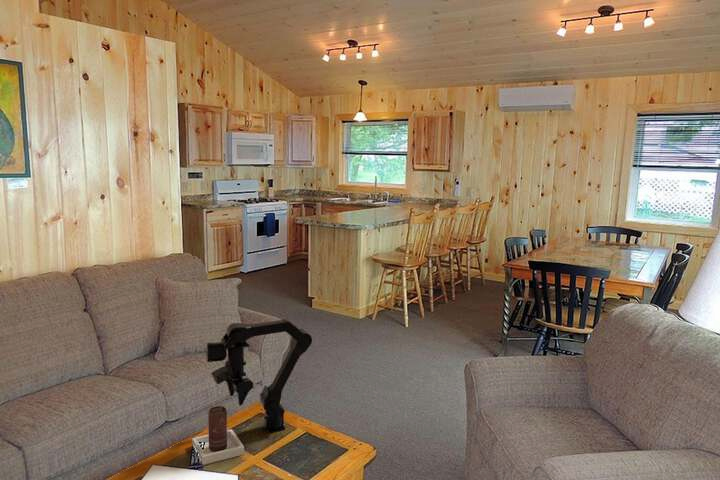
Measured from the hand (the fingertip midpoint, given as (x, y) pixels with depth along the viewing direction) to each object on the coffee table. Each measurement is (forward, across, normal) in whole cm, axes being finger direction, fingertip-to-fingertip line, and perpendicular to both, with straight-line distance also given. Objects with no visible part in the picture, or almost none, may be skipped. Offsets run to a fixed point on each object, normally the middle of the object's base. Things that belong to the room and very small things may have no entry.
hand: (236, 400), depth 191 cm
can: (+12, +7, -9) cm, 17 cm away
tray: (+13, +7, -9) cm, 18 cm away
